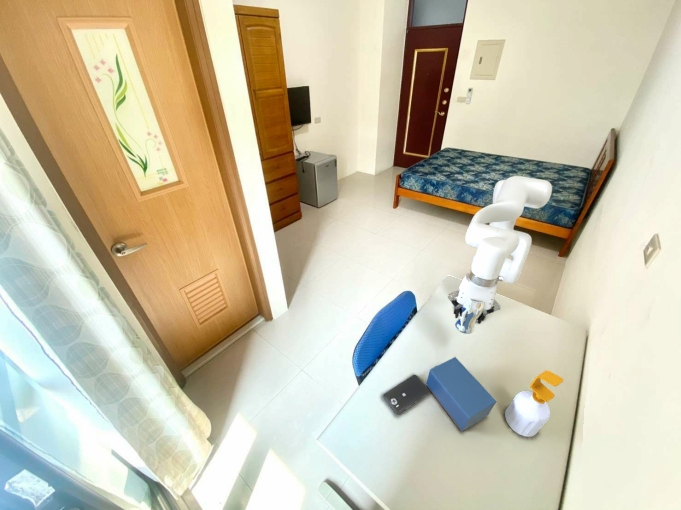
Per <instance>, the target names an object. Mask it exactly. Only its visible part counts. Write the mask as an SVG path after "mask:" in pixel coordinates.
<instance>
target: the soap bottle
mask: <svg viewBox="0 0 681 510" xmlns="http://www.w3.org/2000/svg"><path fill="white" fill-rule="evenodd" d="M542 381H544V382H545V383H547V384H548V385H550V386H552V387H557V386H559V385H561V384H562V383H563V382H564V378H563V377H561V376H559V375H557V374H555V373H554V372H552V371H550V370H544V371H542V372H541V373H540V374H538V375H537V376H535V378H534V379H533V380H532V382H531V383H530V385H529V388H530V389H531V390H532V391H530V390H522V391H520V392H517V394H516V395H515V396H514V398H513V399H512V401H511V402H510V404H509V405H508V407H507V408H506V409H505V412H504V418H505V421H506V423H507V425H508V426H509V428H511V429H512V431H514V433H516V434H518V435H520V436H522V437H527V438H528V437H529V438H532V437H534V436H536V435H537V433H538V432H539V431H540V430H541V429H542V428H543V427H544V425H546V423H547V422H548V421H549V419H550V418H551V409H550V406H549V404H548V403H549V402H550V401H551V400H552V399H554V398H555V397H556V396H555V393H554V392H553V391H552V390H551V389H550V388H548V387H547V386H546V385H545V384H543V383H542Z"/></svg>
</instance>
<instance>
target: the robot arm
mask: <svg viewBox="0 0 681 510" xmlns="http://www.w3.org/2000/svg"><path fill="white" fill-rule="evenodd" d="M552 192H553V186H552V184H551V182H550V181H548V180H546V179H540V178H535V177H528V176H521V175H513V176H510V177H507V178H506V179H501V180H499V181H497V182H496V183H495V185H494V188H493V191H492V193H493V194H492V203H491V204H488V205H486V206H484V207H482V208H481V209H479V210H478V211H477V212H476V213H475V214H474V215H473V217H472V219H471V220H470V223H469V224H468V227H467V229H466V232H465V235H464V240H465V241H464V242H465V243H466V245H468V246H469V247H473V248H476V252H475V253H474V255H473V256H472V259H471V266H470V270H469V272H467V273H466V274H465V275H464V276H463V279H462V280H461V282H460V285H459V287H458V290H456V291H453V292H450V293H448V294H447V299H448V300H449V302H450V303H451V304H452V305H453V306H454V309H453V315H454V318H455V319H458V318H459V313H460V307H462V305H464V304H465V303H466V302H467V300H468V299H471V300H473V301H476V302H484V308H483V309H484V310H483V313H482V314H481V316H480V317H479V318H478V320H477V321H476V322H477V324H479V325H481V323H482V322H483V321H484V320H485V317H487V316H488V315H490V314H492V313H494V312H497V311H501V309H502V308H501V304H499V302H498V301H497V300H496V299H495V298H496V294H497V292H498V291H497V290H498V282H503V283H506V284H510V285H512V284H513V285H514V284H516V283H517V282H518V280H519V279H520V277H521V275H522V273H523V270H524V266H525V264H526V261H527V258H528V256H529V253H530V250H531V247H532V235H530V234H529V233H527V232H523V231H521V230H520V231H519V230H515V229H514V227H515V225H516V222H517V220H518V218H520V217H521V216H522V214H523V212H524V210H525V207H526V208H530V209H540V208H543V207H544V206H545V205H547V203H548V202H549V200H550V199H551V196H552V194H553V193H552ZM509 256H511V257H509Z"/></svg>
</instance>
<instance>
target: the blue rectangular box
mask: <svg viewBox="0 0 681 510" xmlns="http://www.w3.org/2000/svg"><path fill="white" fill-rule="evenodd" d="M425 385H426V387H427V388H428V389H429V392H430V393H431V394H432V395H433V396H434V397H435V399H436V400H437V402H438V403H439V404H440V405H441V407H442V408H443V410H444V411H445V412H446V414H447V415H448V417H450V419H451V420H452V422H453V423H454V424H455V425H456V426H457V428H458V430H460V432H463V431H465V430H467V429H468V428H470V427H472V426H473V425H475V424H477V423H478V422H480V421H481V420H483V419H485V418H486V417H487V416H489V414H490V413H491V411H492V410H493V408H494V406H495V405H496V403H497V400H496V399H495V398H494V397H493V395H492V394H491V393H490V392H489V391H488V390H487V389H486V388H485V387H484V386H483V385H482V383H480V381H479V380H477V378H475V376H474V375H473V374H472V373H471V372H470V371H469V370H468V368H466V367H465V366H464V364H463V363H462V362H461V361H460V360H459V359H458V358H457V357H456V356H454V357H452V358H449V359H448V360H446V361H444V362H442V363H440V364H438V365H436V366H434V367H432V368H430V369H429V371H428V375H427V379H426V381H425Z"/></svg>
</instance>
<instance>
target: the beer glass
mask: <svg viewBox="0 0 681 510" xmlns="http://www.w3.org/2000/svg"><path fill="white" fill-rule="evenodd" d="M483 308H484V302H476V301H473V300H471V299H468V300H467V302H466V303H465V304H464V305H462V307H460V313H459V315H458V318H457V320H456V321H455V323H454V327H455V329H456V330H457V331H458V332H460V333H462V334H465V335H470V334H473V332H474V331H475V325H476V323H477V322H478V321H477V320H478V318H479V317H480V316H481V314H482V313H483V310H484V309H483Z"/></svg>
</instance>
